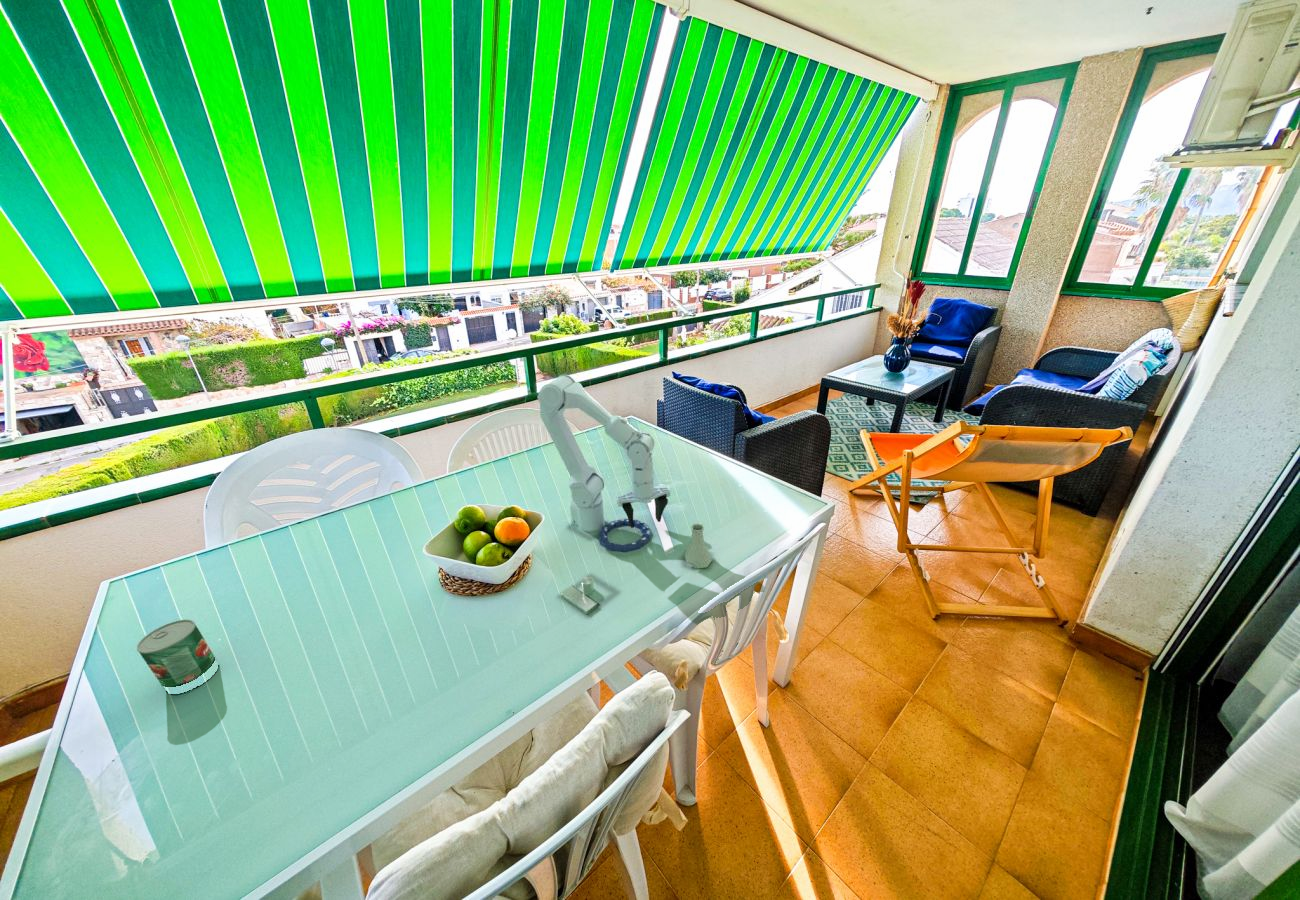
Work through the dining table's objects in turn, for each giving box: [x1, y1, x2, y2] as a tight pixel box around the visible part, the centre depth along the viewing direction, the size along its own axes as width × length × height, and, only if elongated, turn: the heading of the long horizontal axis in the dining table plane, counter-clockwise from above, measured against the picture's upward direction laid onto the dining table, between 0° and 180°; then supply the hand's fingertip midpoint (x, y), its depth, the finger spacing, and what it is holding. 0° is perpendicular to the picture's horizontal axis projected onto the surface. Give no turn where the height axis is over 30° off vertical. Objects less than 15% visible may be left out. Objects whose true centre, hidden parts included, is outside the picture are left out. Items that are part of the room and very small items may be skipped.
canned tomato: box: [136, 619, 216, 692], centre depth 87 cm, size 8×8×11 cm
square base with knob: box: [560, 576, 601, 616], centre depth 105 cm, size 9×9×4 cm
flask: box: [684, 523, 713, 569], centre depth 114 cm, size 7×7×10 cm
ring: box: [597, 518, 653, 553], centre depth 125 cm, size 14×14×2 cm
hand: (645, 522), depth 126 cm, fingers open, 7 cm apart
